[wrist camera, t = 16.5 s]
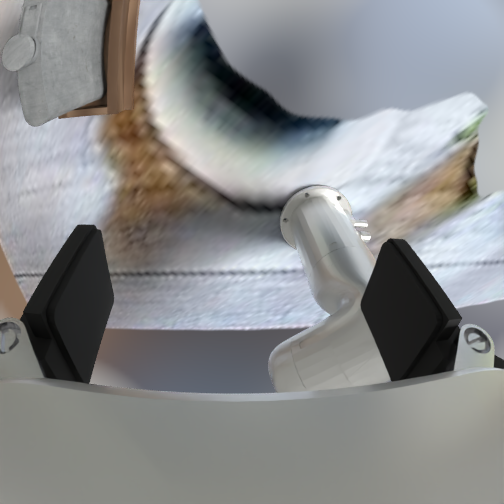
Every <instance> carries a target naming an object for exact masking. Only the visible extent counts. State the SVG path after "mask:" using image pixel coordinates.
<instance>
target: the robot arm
mask: <svg viewBox="0 0 504 504" xmlns="http://www.w3.org/2000/svg"><path fill="white" fill-rule="evenodd" d="M305 193H307V194H305ZM337 196H338V197H337ZM284 218H286V219H284ZM355 227H359V228H366V227H367V221H366V220H355V218H353V216H352V210H351V206H350V204H349V202H348V200H347V199H346V198H345V196H344V195H343V194H341V193H340V192H339V191H337V190H336V189H334V188H331V187H328V186H312V187H308V188H305V189H303V190H301V191H299V192H297V193H296V194H294V195H293V196H292V197H291V198H290V199H289V200H288V201H287V203H286V204H285V206H284V207H283V210H282V212H281V216H280V228H281V232H282V235H283V237H284V239H285V240H286V242H287V243H288V244H289V245H290V246H291V247H293V248H294V249H296V250H298V253H299V256H300V259H301V262H302V265H303V268H304V271H305V274H306V277H307V280H308V283H309V286H310V289H311V292H312V295H313V297H314V299H315V301H316V302H317V304H318V305H319V306H320V307H321V308H322V309H323V310H324V311H326V312H327V313H329V314H330V316H329V317H327V318H326V319H324V320H323V321H321V322H319V323H317V324H315V325H313V326H312V327H310V328H308V329H306V330H304V331H302V332H300V333H299V334H297V335H295V336H293V337H291V338H289V339H288V340H286V341H284V342H282V343H281V344H279V345H278V346H277V347H276V348H275V349H274V350H273V351H272V353H271V355H270V357H269V362H268V367H269V374H270V378H271V380H272V383H273V386H274V388H275V390H276V392H277V393H257V394H213V393H211V394H210V393H183V392H166V391H152V390H141V389H131V388H120V387H111V386H102V385H94V384H89V382H90V379H91V375H92V371H93V368H94V364H95V361H96V357H97V353H98V350H99V347H100V343H101V340H102V337H103V333H104V330H105V327H106V324H107V321H108V318H109V315H110V312H111V309H112V306H113V302H114V294H113V289H112V284H111V280H110V275H109V270H108V265H107V260H106V255H105V249H104V244H103V238H102V233H101V230H98V229H97V228H96V226H95V225H77V226H76V228H75V229H74V231H73V232H72V233H71V235H70V236H69V238H68V239H67V241H66V242H65V244H64V245H63V247H62V248H61V250H60V251H59V253H58V254H57V256H56V257H55V259H54V260H53V262H52V264H51V265H50V267H49V268H48V270H47V271H46V273H45V275H44V276H43V278H42V280H41V281H40V283H39V285H38V286H37V288H36V290H35V291H34V293H33V295H32V297H31V298H30V300H29V302H28V304H27V306H26V307H25V309H24V311H23V315H22V317H21V319H20V320H18V319H16V318H5V319H2V320H0V504H504V360H503V359H501V358H499V357H497V356H496V355H494V343H493V341H492V339H491V337H490V336H489V334H488V333H487V332H486V331H484V330H483V329H482V328H480V327H479V326H476V325H474V324H467V325H464V326H463V327H462V328H461V329H459V327H458V324H459V323H460V321H461V320H462V317H461V316H460V314H459V313H458V311H457V310H456V308H455V307H454V305H453V304H452V302H451V301H450V299H449V298H448V297H447V295H446V294H445V292H444V291H443V289H442V288H441V287H440V285H439V284H438V282H437V281H436V280H435V278H434V277H433V276H432V274H431V273H430V272H429V270H428V269H427V267H426V266H425V265H424V264H423V262H422V261H421V260H420V258H419V257H418V256H417V254H416V253H415V252H414V251H413V249H412V248H411V247H410V245H409V244H408V243H407V242H406V241H405V240H403V239H391V238H390V239H388V240H387V242H385V243H383V245H382V247H381V250H380V253H379V255H378V258H377V261H376V260H375V258H374V256H373V255H372V253H371V252H370V250H369V249H368V247H367V246H366V244H365V242H369V240H370V233H369V232H367V231H357V230H356V229H355ZM389 380H391V381H392V382H388V381H389Z"/></svg>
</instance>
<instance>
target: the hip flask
mask: <svg viewBox="0 0 504 504" xmlns="http://www.w3.org/2000/svg"><path fill="white" fill-rule="evenodd" d="M110 9H111V3H110V1H109V0H24V4H23V8H22V13H21V18H20V24H19V31H18V34H17V35H15V36H13V37H12V38H11V39H9V41H8V42H7V43H6V45H5V47H4V49H3V52H2V63H3V65H4V67H5V68H6V69H7V70H9V71H17V77H18V87H19V94H20V100H21V105H22V109H23V113H24V117H25V120H26V121H27V123H28V124H29V125H31V126H34V127H36V126H40V125H42V124H44V123H46V122H48V121H50V120H52V119H54V118H57V117H59V116H61V115H63V114H65V113H67V112H70V111H72V110H74V109H77V108H79V107H81V106H84V105H86V104H88V103H91V102H93V101H96V100H98V99H101V98H103V97H104V96H105V95H106V93H107V81H106V76H105V67H104V41H105V31H106V25H107V20H108V16H109V13H110Z"/></svg>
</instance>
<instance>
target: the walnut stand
mask: <svg viewBox="0 0 504 504" xmlns="http://www.w3.org/2000/svg"><path fill="white" fill-rule="evenodd" d="M109 1H110V3H111V9H110V13H109V16H108V20H107V25H106V31H105V41H104V67H105V76H106V81H107V93H106V95H105V96H104V97H103V98H101V99H98V100H96V101H93V102H91V103H88V104H86V105H84V106H81V107H79V108H77V109H74V110H72V111H70V112H67V113H65V114H63V115H61V116H59V119H61V118H70V117H79V116H91V115H104V114H118V113H119V112H121V111H123V110H132V109H134V73H135V53H136V38H137V26H138V15H139V5H140V0H109Z"/></svg>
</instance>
